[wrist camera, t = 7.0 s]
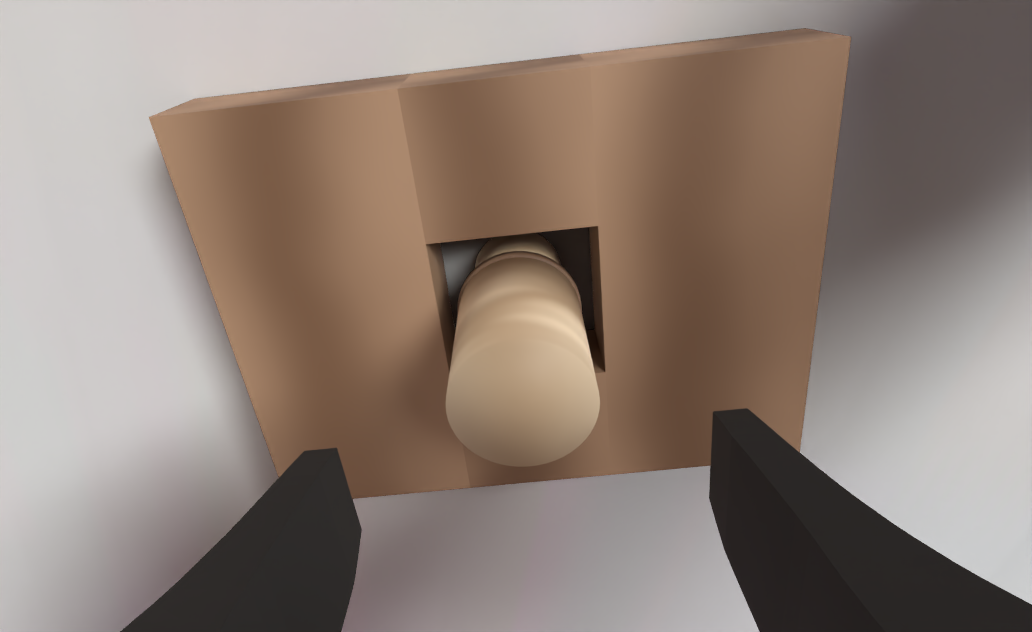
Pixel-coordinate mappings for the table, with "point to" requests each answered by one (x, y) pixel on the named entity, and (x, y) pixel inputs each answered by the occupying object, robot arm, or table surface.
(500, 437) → the peg
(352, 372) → the board
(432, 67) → the table surface
